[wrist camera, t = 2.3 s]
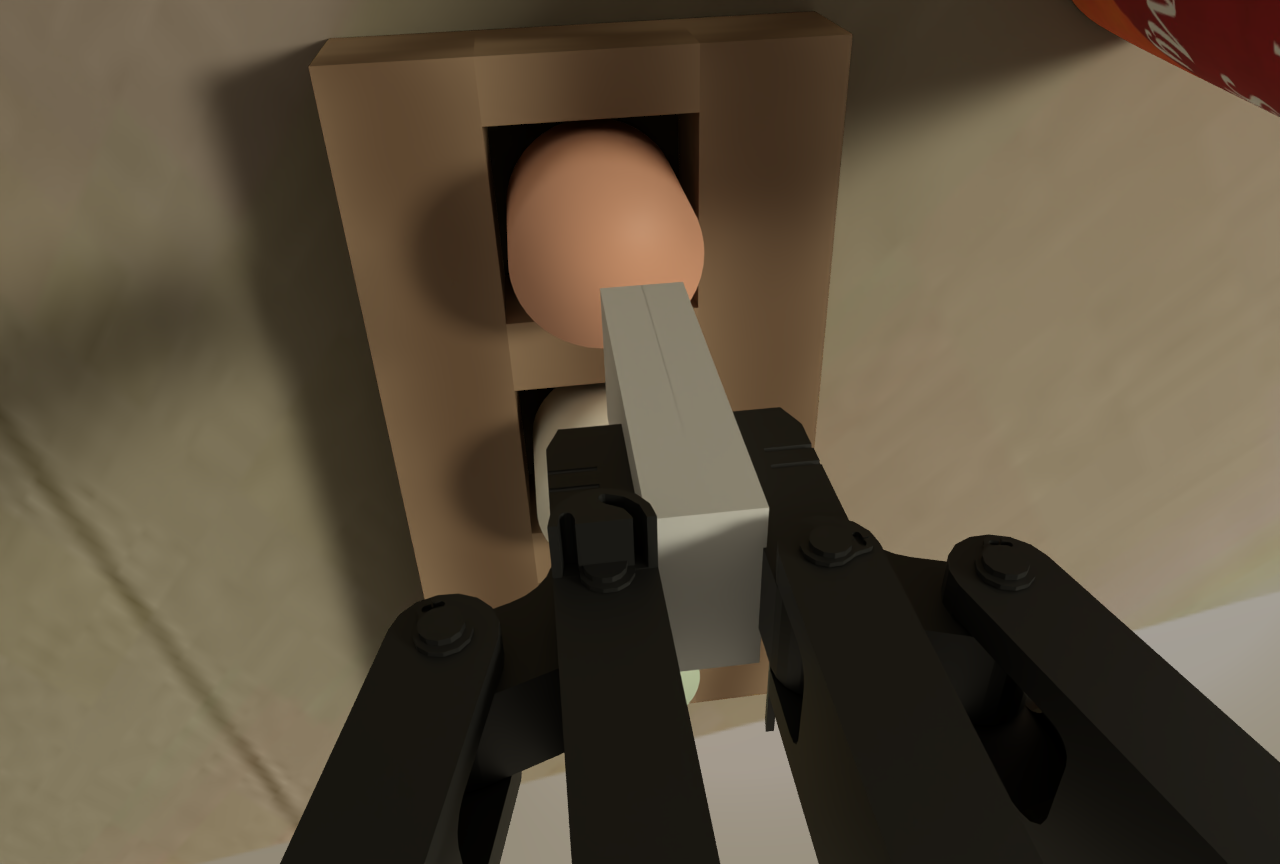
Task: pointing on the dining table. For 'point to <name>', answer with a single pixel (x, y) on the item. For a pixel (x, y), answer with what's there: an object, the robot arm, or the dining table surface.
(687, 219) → the brown egg
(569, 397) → the cream rounded piece
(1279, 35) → the coffee cup
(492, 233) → the walnut panel
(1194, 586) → the dining table surface
